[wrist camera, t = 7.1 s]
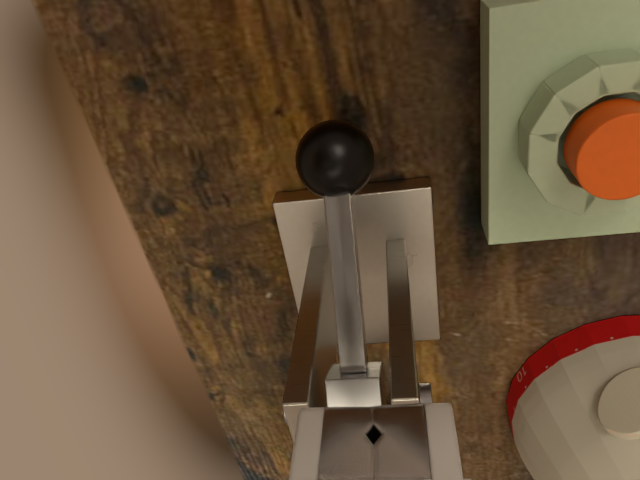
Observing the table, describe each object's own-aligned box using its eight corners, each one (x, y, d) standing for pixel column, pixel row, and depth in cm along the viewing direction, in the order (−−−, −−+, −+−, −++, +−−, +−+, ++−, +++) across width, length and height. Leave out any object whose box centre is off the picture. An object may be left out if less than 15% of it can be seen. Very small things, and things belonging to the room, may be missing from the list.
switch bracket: (275, 192, 29) (223, 351, 19) (429, 176, 27) (460, 337, 18) (307, 334, 34) (280, 517, 24) (438, 326, 33) (466, 515, 23)
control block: (479, -2, 23) (497, 17, 19) (714, -38, 21) (777, -25, 18) (480, 222, 29) (495, 266, 25) (666, 205, 27) (707, 249, 24)
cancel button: (565, 103, 21) (579, 119, 20) (665, 91, 21) (687, 107, 19) (559, 185, 23) (572, 205, 22) (650, 176, 23) (669, 196, 21)
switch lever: (300, 131, 24) (283, 118, 21) (373, 122, 23) (367, 107, 20) (327, 424, 24) (316, 455, 21) (400, 422, 24) (399, 453, 20)
